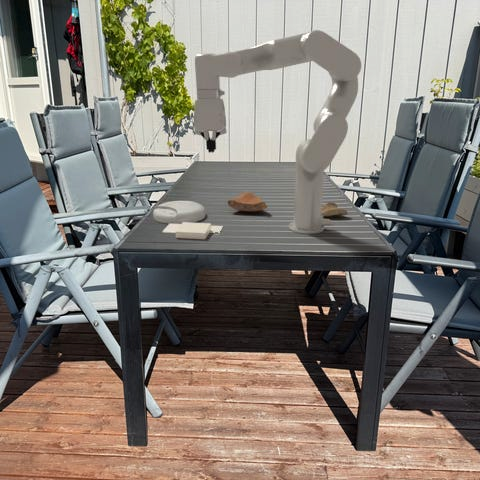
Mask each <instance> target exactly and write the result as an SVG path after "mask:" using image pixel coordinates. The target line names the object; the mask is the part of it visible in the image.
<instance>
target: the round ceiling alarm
mask: <svg viewBox="0 0 480 480" xmlns="http://www.w3.org/2000/svg"><path fill="white" fill-rule="evenodd" d="M153 209H154V210H153V212H152V217H153V220H155V221H157V222H158V223H161V224H168V225H169V223H170V224H182V223H183V222H190V223H198V222H199V221H201V220H203V219H205V217H206V215H207V213H206V209H205V207H204V206H203V205H202V204H200V203H199V202H195V201H191V200H172V201H171V200H170V201H166V202H163V203H160V204H159V205H157V206H155V208H153Z"/></svg>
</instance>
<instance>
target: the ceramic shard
mask: <svg viewBox="0 0 480 480" xmlns="http://www.w3.org/2000/svg"><path fill="white" fill-rule="evenodd" d="M227 205H228V206H229V207H230V208H232V209H233V210H236V211H237V210H238V211H243V212H244V211H245V212H258V211H263V210H265V209H268V206H267V204H266V203H265V201H263V200H262V199H261V198H260V197H258V196H257V195H255V194H254V193H251V192H250V191H249V190H246V191H244V192H243V193H242V194H241V195H239V196H238V197H235V198H233V199H229V200H228V201H227Z"/></svg>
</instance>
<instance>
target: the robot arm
mask: <svg viewBox="0 0 480 480" xmlns="http://www.w3.org/2000/svg"><path fill="white" fill-rule="evenodd" d="M310 62H313V63H315V64H316V65H318V66H319V67H321V68H322V69H324V70H325V71H326V72H328V75H329V76H330V77H331V89H330V92H329V95H328V96H327V98H326V101H325V102H324V103H323V105H322V107H321V109H320V110H319V113H318V114H317V115H316V117H315V119H314V121H313V131H314V133H313V134H312V136H311V138H309V139H305V140H303V141H301V142H300V144H298V146H297V148H296V150H295V151H296V152H295V187H294V206H293V207H294V208H293V221H291V222H290V223H289V224H288V228H289V230H290V231H291V232H294V233H296V234H304V235H305V234H306V235H310V234H311V235H314V234H320V233H322V232H324V231H325V226H328V227H334V224H335V222H334V220H330V218H323V217H322V216H323V215H322V214H321V210H322V207H323V206H322V203H323V190H324V189H323V188H324V171H326V169H328V168H329V166H330V165H331V163H332V162H333V160H334V159H335V157H336V155H337V153H338V151H339V150H340V148H341V147H342V145H343V143H344V141H345V139H346V137H347V135H348V131H349V123H348V121H347V118H348V115H349V113H350V111H351V109H352V107H353V105H354V103H355V101H356V99H357V95H358V92H359V78H358V76H359V74H360V72H361V69H362V61H361V58H360V57H359V55H358V54H357V53H356V52H354V51H353V50H352V49H350V48H348V47H347V46H346V45H344V44H343V43H342V42H340V41H339V40H337V39H335V38H333V36H332V35H329V34H328V33H326V32H324V31H323V30H318V29H316V30H312V31H308V32H305V33H300V34H296V35H291V36H287V37H282V38H277V39H273V40H270V41H267V42H265V43H262V44H259V45H257V46H253V47H249V48H245V49H241V50H237V51H229V52H223V53H217V54H216V53H198V54H196V55H195V56H194V71H195V73H194V74H195V85H196V87H195V88H196V99H195V100H194V108H193V109H194V110H193V125H194V134H195V135H197V136H201V137H202V138H203V139H204V140H205V143H206V144H205V145H206V150H208V153H209V154H210V153H215V150H217V142H216V140H217V139H218V137H219V136H221V135H225V134H227V131H228V130H227V128H226V127H227V119H226V117H227V116H226V109H225V103H224V99H223V98H221V97H222V96H225V90H221V86H220V85H221V83H220V82H221V81H220V80H221V79H220V77H221V78H229V79H233V78H236V77H238V76H242V75H246V74H250V73H256V72H260V71H273V70H274V71H275V70H278V69H284V68H288V67H292V66H296V65H301V64H304V63H310ZM210 132H212V133H211V134H212V135H211V136H210Z"/></svg>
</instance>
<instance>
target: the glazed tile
mask: <svg viewBox="0 0 480 480" xmlns="http://www.w3.org/2000/svg"><path fill="white" fill-rule="evenodd" d="M211 225H212V223H209V222H208V223H207V222H193V223H190V222H183V223H182V224H181V225H180V227H179V228H178V229H177V231H176V233H175V238H176V239H190V240H191V239H192V240H193V239H195V240H206V239H207V237H208V236H209V235H210V234H209V233H210V231H211Z"/></svg>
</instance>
